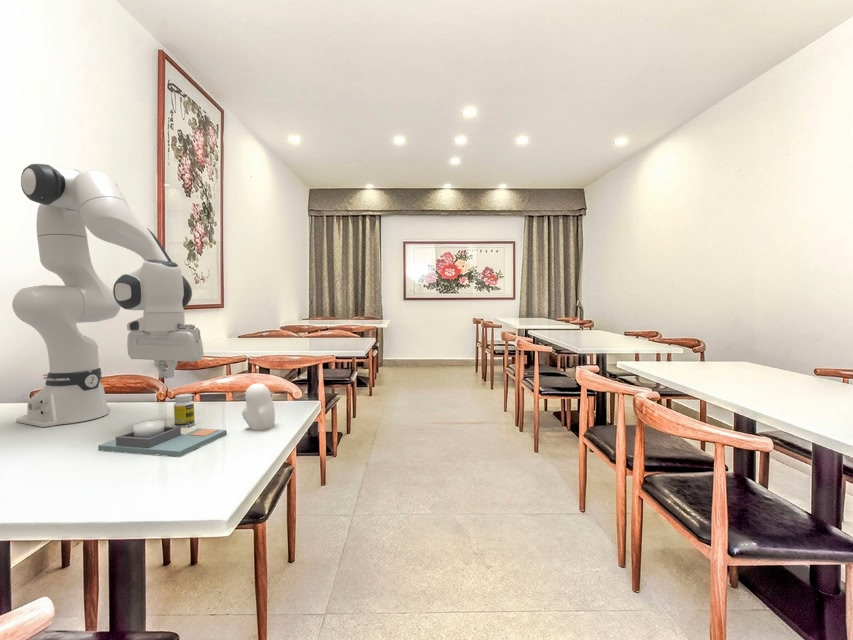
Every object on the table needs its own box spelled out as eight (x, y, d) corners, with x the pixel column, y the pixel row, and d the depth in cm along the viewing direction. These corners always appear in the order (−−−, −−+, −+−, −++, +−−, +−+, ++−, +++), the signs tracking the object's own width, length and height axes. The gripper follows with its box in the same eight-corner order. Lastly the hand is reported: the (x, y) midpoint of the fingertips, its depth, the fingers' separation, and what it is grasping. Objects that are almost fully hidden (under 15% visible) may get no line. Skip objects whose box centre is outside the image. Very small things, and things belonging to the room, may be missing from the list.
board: (98, 450, 95) (97, 436, 95) (154, 430, 110) (153, 418, 110) (179, 456, 90) (179, 442, 90) (226, 434, 105) (226, 422, 105)
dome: (127, 443, 96) (126, 425, 96) (149, 435, 102) (149, 417, 101) (149, 445, 94) (148, 426, 94) (170, 436, 100) (169, 418, 100)
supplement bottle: (188, 428, 111) (186, 397, 111) (170, 428, 111) (169, 397, 111) (198, 422, 116) (197, 393, 115) (181, 422, 116) (180, 393, 116)
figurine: (239, 430, 108) (237, 385, 108) (259, 422, 116) (257, 379, 115) (262, 432, 106) (260, 386, 106) (281, 424, 113) (279, 380, 113)
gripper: (208, 323, 106) (210, 377, 107) (143, 322, 111) (145, 373, 112) (189, 325, 100) (191, 382, 101) (121, 323, 105) (123, 378, 105)
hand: (166, 377), depth 106 cm, fingers closed
